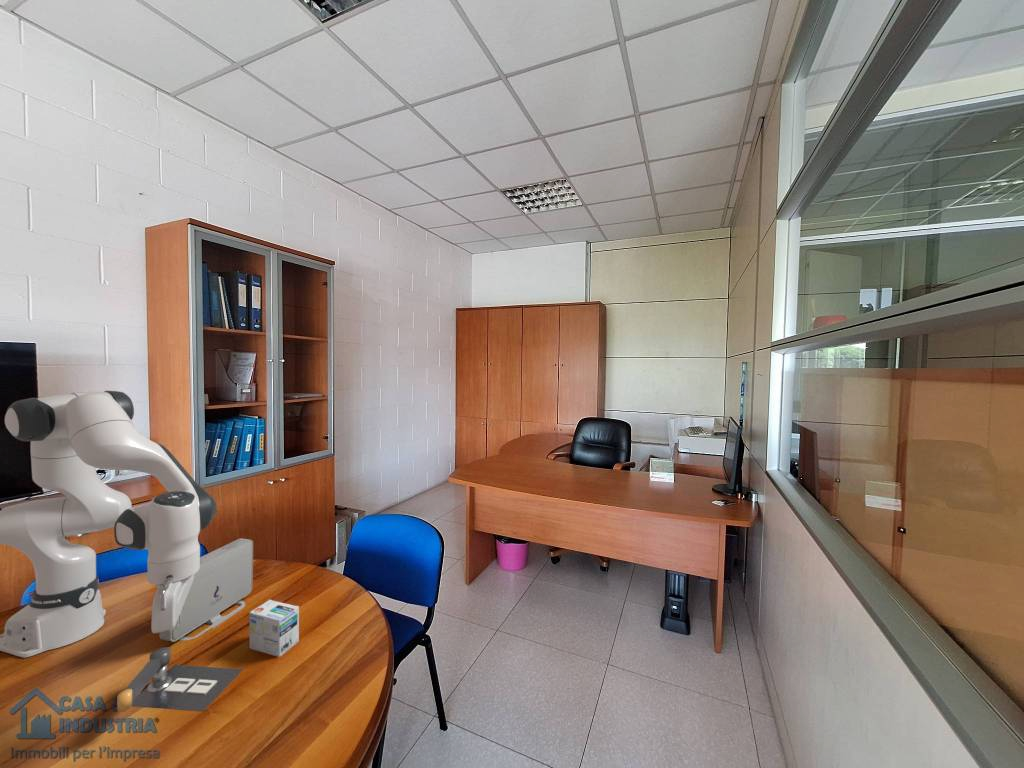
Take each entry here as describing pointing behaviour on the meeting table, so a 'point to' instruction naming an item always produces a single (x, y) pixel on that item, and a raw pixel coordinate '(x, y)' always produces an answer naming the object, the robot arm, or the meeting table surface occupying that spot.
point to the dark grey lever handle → (143, 678)
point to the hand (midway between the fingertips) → (174, 626)
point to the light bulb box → (274, 627)
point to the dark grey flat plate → (188, 699)
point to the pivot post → (159, 680)
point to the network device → (216, 588)
